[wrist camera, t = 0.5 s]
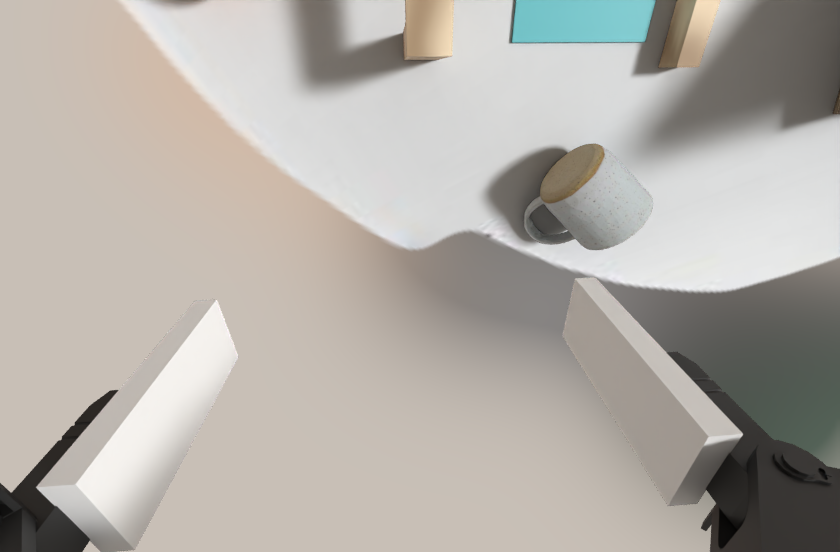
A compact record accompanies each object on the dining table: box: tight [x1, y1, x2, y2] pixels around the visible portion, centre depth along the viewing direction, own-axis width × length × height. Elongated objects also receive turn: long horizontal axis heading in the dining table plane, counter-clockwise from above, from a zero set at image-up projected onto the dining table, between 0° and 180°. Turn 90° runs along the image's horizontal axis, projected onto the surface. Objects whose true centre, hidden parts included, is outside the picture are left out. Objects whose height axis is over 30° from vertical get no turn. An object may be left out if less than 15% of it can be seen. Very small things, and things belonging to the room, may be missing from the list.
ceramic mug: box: [524, 144, 653, 250], centre depth 36 cm, size 11×8×8 cm
